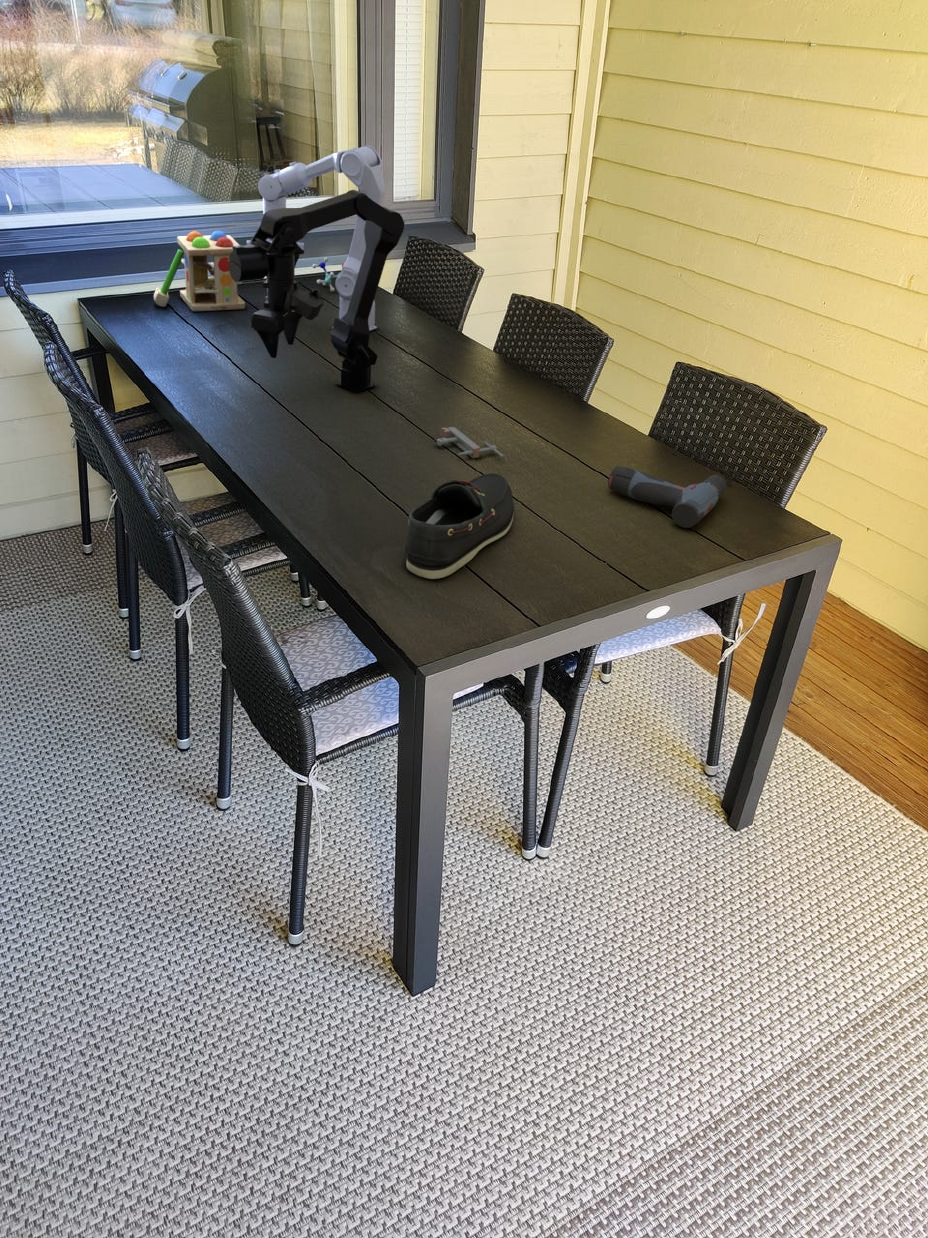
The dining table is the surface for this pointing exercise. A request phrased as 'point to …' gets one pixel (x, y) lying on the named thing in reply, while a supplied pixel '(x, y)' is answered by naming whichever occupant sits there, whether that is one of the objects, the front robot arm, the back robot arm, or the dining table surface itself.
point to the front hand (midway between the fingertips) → (282, 350)
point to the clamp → (464, 443)
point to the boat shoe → (457, 524)
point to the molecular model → (328, 276)
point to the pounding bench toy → (204, 273)
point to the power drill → (669, 493)
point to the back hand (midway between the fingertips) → (276, 278)
